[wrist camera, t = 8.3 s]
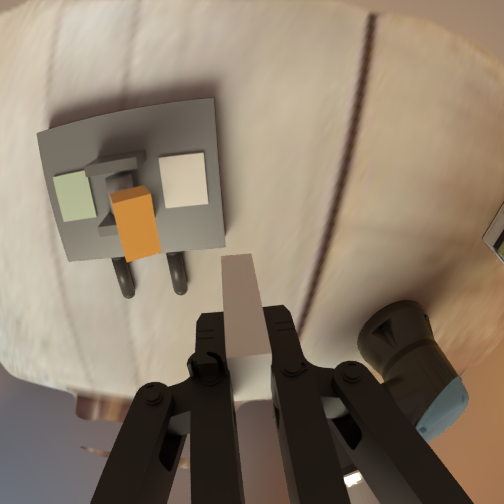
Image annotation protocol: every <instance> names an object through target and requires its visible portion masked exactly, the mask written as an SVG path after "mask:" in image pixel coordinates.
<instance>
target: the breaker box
mask: <svg viewBox="0 0 504 504" xmlns="http://www.w3.org/2000/svg"><path fill="white" fill-rule="evenodd" d="M37 139H38V145H39V151H40V156H41V161H42V166H43V171H44V176H45V180H46V185H47V189H48V193H49V197H50V201H51V205H52V209H53V213H54V216H55V220H56V223H57V227H58V230H59V233H60V237H61V240H62V243H63V246H64V249H65V252H66V255H67V258H68V261H69V262H72V261H82V260H93V259H103V258H111V259H112V262H113V266H114V269H115V272H116V275H117V279H118V282H119V285H120V288H121V291H122V294H123V296H124V297H125V298H127V299H130V298H132V297H134V295H135V289H134V285H133V282H132V279H131V275H130V272H129V268H128V265H127V261H126V258H125V255H124V252H123V249H122V245H121V242H120V238H119V233H118V229H117V225H116V221H115V217H114V215H113V214H112V211H111V206H110V202H109V197H108V192H107V187H106V182H105V178H107V177H108V176H111V175H113V174H117V173H122V172H131V176H132V182H133V187H138V186H142V185H144V186H145V187H146V188H147V190H148V191H149V192H150V193H151V198H152V204H153V210H154V215H155V221H156V226H157V231H158V236H159V242H160V247H161V251H162V252H160V253H166V255H167V260H168V265H169V269H170V274H171V279H172V283H173V288H174V291H175V293H176V294H178V295H184V294H185V293H186V292H187V290H188V287H187V282H186V276H185V271H184V266H183V260H182V254H181V251H190V250H201V249H212V248H223V247H226V246H225V231H224V220H223V209H222V197H221V185H220V173H219V161H218V147H217V134H216V120H215V105H214V98H204V99H195V100H186V101H178V102H170V103H163V104H157V105H151V106H145V107H139V108H133V109H128V110H123V111H118V112H113V113H109V114H104V115H100V116H96V117H91V118H87V119H83V120H79V121H76V122H72V123H68V124H65V125H61V126H58V127H54V128H51V129H48V130H45V131H42V132H39V133H37Z"/></svg>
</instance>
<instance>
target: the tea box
mask: <svg viewBox="0 0 504 504" xmlns="http://www.w3.org/2000/svg"><path fill="white" fill-rule="evenodd" d="M483 240H484V241H485V243H486V244H487V245H488V246H489V247H490V249H491V250H492V251H493V252H494V253H495V255H496V256H497V257H498V258H499V259H500V261H501V262H502V263H503V264H504V204H503V205H502V207H501V208H500V210H499V212H498V214H497V215H496V217H495V218H494V220H493V222H492V223H491V225H490V227H489V228H488V230H487V231H486V233H485V235H484V236H483Z"/></svg>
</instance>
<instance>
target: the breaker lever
mask: <svg viewBox="0 0 504 504" xmlns="http://www.w3.org/2000/svg"><path fill="white" fill-rule="evenodd" d="M105 182H106V187H107V192H108V197H109V202H110V206H111V211H112V214H113V215H114V217H115V221H116V225H117V229H118V233H119V238H120V242H121V245H122V249H123V252H124V255H125V258H126V261H127V262H130V261H134V260H137V259H140V258H144V257H147V256H150V255H154V254H157V253H160V252H162V251H161V247H160V242H159V236H158V231H157V226H156V221H155V215H154V210H153V204H152V198H151V193H150V192H149V191H148V190H147V188H146V187H145V186H144V185H142V186H138V187H133V182H132V176H131V172H122V173H117V174H113V175H111V176H108V177H107V178H105Z"/></svg>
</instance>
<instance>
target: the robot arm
mask: <svg viewBox="0 0 504 504" xmlns="http://www.w3.org/2000/svg"><path fill="white" fill-rule="evenodd" d="M221 264H222V288H223V309H224V312H213V313H202V314H201V315H200V317H199V319H198V320H197V322H196V344H195V353H193V354H192V355H191V356H190V358H189V359H188V362H187V367H188V371H189V374H190V377H189V378H188V379H186V380H185V381H183V382H181V383H179V384H176V385H172V386H169V387H168V386H166V385H165V384H163V383H160V382H151V383H147V384H145V385H143V386H142V387H141V388H140V389H139V390H138V391H137V393H136V395H135V397H134V399H133V402H132V404H131V406H130V408H129V411H128V413H127V415H126V418H125V420H124V422H123V424H122V427H121V429H120V431H119V434H118V436H117V439H116V441H115V443H114V446H113V448H112V451H111V453H110V455H109V458H108V460H107V462H106V465H105V467H104V470H103V472H102V475H101V477H100V480H99V482H98V485H97V487H96V490H95V493H94V495H93V498H92V500H91V503H90V504H167V501H168V498H169V494H170V491H171V487H172V484H173V480H174V477H175V474H176V470H177V467H178V464H179V460H180V457H181V453H182V450H183V446H184V443H185V440H186V436H187V434H188V433H190V469H191V470H190V472H191V504H245V498H244V489H243V481H242V472H241V463H240V453H239V443H238V434H237V423H236V413H235V408H234V401H241V400H251V399H260V398H269V397H272V398H273V418H275V423H276V428H277V434H278V439H279V444H280V450H281V456H282V461H283V467H284V472H285V478H286V483H287V488H288V494H289V499H290V504H474V503H473V502H472V500H471V499H470V498H469V497H468V495H467V494H466V493H465V491H464V490H463V489H462V487H461V486H460V485H459V484H458V482H457V481H456V480H455V478H454V477H453V476H452V474H451V473H450V472H449V471H448V469H447V468H446V467H445V465H444V464H443V463H442V462H441V460H440V459H439V458H438V457H437V455H436V454H435V453H434V451H433V450H432V449H431V447H430V446H429V445H428V444H427V442H429V441H431V440H432V439H434V438H436V437H437V436H438V435H440V434H441V433H443V432H444V431H445V430H446V429H447V428H448V427H450V426H451V425H452V424H453V423H454V422H455V421H456V420H457V419H458V418H459V416H460V415H461V414H462V413H463V411H464V410H465V408H466V406H467V404H468V400H469V396H468V392H467V391H466V389H465V387H464V385H463V383H462V379H461V377H460V376H458V374H457V373H456V371H455V370H454V368H453V367H452V365H451V363H450V362H449V360H448V359H447V358H446V356H445V355H444V353H443V352H442V350H441V349H440V347H439V346H438V344H437V343H436V341H435V340H434V336H433V332H432V328H431V324H430V321H429V317H428V315H427V313H426V311H425V310H424V309H423V308H422V306H421V305H420V304H419V303H417V302H414V301H400V302H397V303H394V304H391V305H389V306H387V307H385V308H384V309H382V310H380V311H379V312H378V313H376V314H375V315H374V316H373V317H372V318H371V319H370V320H369V321H368V322H367V323H366V324H365V326H364V327H363V329H362V330H361V332H360V334H359V337H358V342H357V345H358V349H359V351H360V353H361V355H362V357H363V359H364V360H365V361H366V362H367V363H369V364H370V365H371V366H372V367H373V368H374V369H375V370H376V371H377V372H378V373H379V374H380V375H381V376H382V378H383V380H384V383H382V384H380V383H379V382H378V381H377V380H376V378H375V377H374V376H373V375H372V373H371V372H370V371H369V370H368V368H367V367H365V366H364V365H363V364H362V363H359V362H357V361H346V362H342V363H340V364H339V365H337V367H336V368H335V369H332V368H322V367H317V366H315V365H312V364H311V363H310V362H308V361H307V360H306V359H305V357H304V355H303V352H302V349H301V345H300V342H299V339H298V336H297V332H296V330H295V326H294V323H293V319H292V316H291V313H290V311H289V310H288V309H287V308H286V307H285V306H284V305H277V306H268V307H262V303H261V298H260V293H259V289H258V284H257V279H256V274H255V269H254V264H253V260H252V255H251V254H241V255H230V256H221Z"/></svg>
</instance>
